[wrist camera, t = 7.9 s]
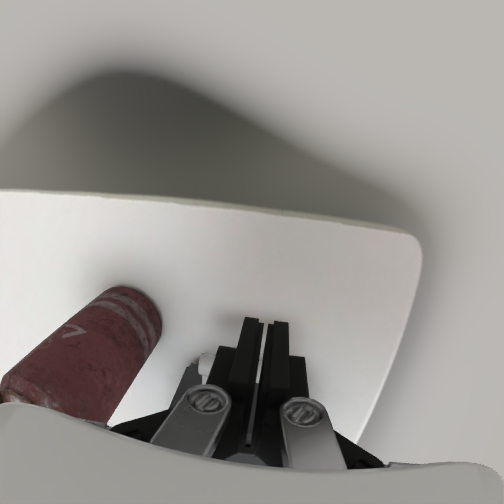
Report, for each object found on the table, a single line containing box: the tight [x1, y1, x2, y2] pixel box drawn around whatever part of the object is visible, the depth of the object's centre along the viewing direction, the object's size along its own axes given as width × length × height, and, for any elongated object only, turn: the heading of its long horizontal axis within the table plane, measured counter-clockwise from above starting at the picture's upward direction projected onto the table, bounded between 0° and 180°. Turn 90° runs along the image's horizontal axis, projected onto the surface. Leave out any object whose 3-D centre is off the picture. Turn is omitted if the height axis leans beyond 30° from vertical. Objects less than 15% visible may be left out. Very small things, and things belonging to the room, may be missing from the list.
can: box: [0, 287, 161, 423], centre depth 17 cm, size 6×6×14 cm
